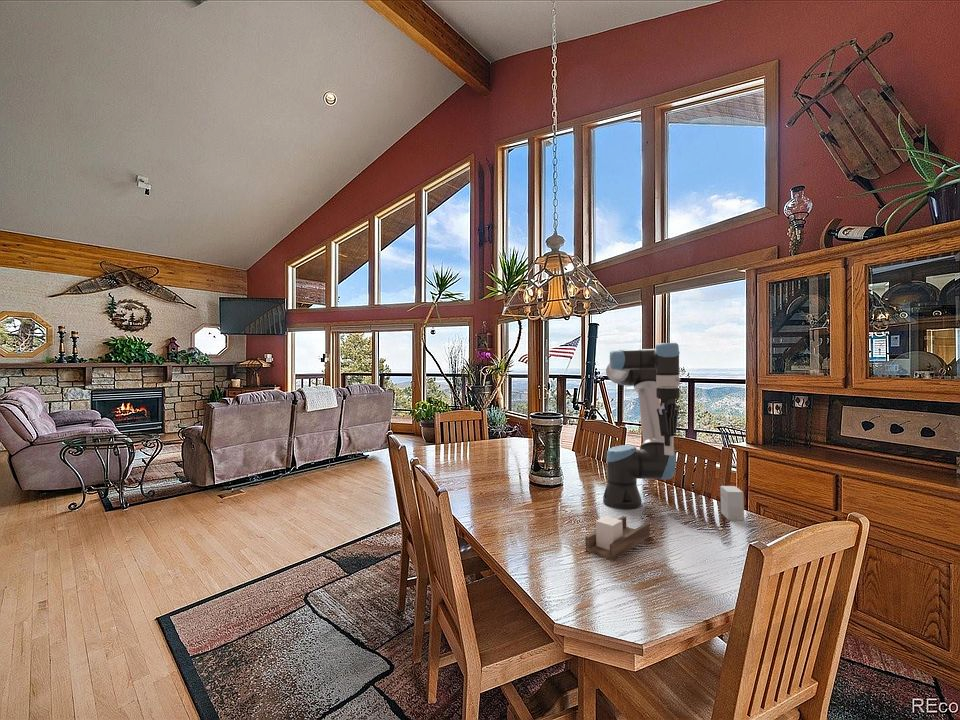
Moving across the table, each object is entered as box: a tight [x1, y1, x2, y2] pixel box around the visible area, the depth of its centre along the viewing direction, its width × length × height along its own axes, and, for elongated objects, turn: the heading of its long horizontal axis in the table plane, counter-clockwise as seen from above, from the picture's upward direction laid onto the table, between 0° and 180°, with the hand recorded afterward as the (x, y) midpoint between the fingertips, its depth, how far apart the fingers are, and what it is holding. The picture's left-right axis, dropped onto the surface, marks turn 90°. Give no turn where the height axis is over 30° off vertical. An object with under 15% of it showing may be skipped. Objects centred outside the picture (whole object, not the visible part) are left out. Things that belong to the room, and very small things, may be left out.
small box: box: [719, 485, 745, 521], centre depth 168 cm, size 8×6×10 cm
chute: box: [584, 515, 651, 561], centre depth 147 cm, size 10×24×4 cm, turn 134°
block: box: [595, 515, 623, 550], centre depth 143 cm, size 6×6×8 cm
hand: (669, 454), depth 157 cm, fingers closed
